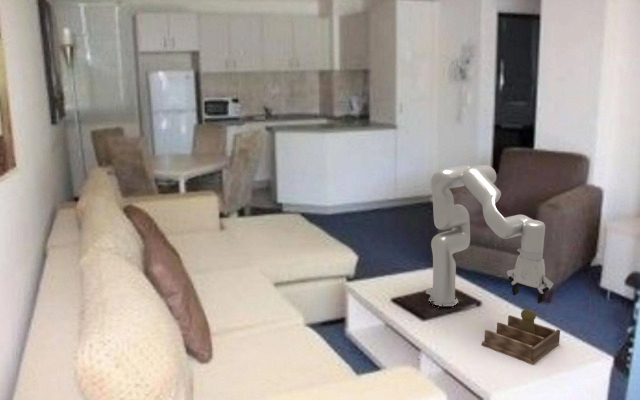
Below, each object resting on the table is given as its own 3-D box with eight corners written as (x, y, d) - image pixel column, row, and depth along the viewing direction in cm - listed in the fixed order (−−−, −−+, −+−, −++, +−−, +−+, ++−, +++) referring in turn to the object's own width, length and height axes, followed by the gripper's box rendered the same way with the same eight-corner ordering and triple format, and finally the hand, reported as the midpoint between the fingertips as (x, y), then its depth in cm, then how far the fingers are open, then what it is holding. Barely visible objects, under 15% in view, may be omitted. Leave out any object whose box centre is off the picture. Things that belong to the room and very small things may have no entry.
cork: (536, 342, 209) (538, 314, 207) (519, 341, 210) (521, 313, 208) (533, 334, 215) (535, 307, 213) (517, 333, 216) (518, 306, 214)
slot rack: (481, 345, 211) (482, 331, 210) (508, 327, 224) (509, 313, 223) (533, 364, 197) (534, 349, 195) (559, 344, 210) (560, 330, 209)
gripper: (504, 251, 209) (500, 294, 213) (550, 263, 197) (545, 308, 201) (514, 246, 214) (511, 288, 218) (559, 257, 202) (555, 302, 206)
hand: (527, 298), depth 210 cm, fingers open, 9 cm apart
